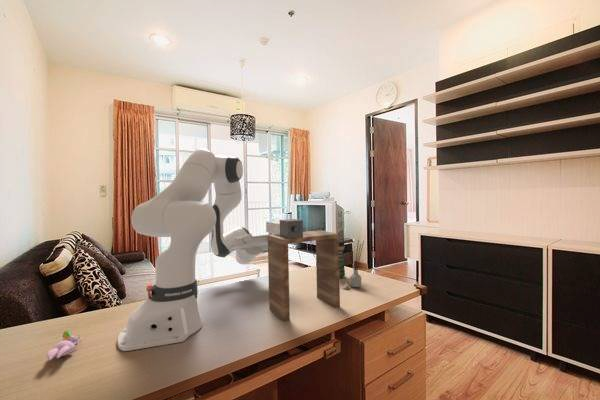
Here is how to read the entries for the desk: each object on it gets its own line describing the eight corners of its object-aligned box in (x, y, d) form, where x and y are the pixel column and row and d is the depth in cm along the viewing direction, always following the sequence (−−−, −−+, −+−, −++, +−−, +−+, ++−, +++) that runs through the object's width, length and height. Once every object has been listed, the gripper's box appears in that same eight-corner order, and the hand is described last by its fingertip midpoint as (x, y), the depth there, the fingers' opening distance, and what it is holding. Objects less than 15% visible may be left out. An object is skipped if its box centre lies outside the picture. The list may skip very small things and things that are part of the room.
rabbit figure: (59, 349, 79) (36, 370, 66) (59, 326, 80) (37, 342, 67) (86, 343, 82) (70, 362, 68) (86, 322, 83) (70, 336, 69)
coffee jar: (329, 280, 132) (329, 240, 132) (322, 275, 140) (321, 238, 139) (347, 277, 136) (347, 238, 136) (339, 273, 143) (338, 236, 143)
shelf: (284, 321, 91) (282, 239, 90) (269, 308, 101) (267, 235, 101) (339, 306, 101) (338, 233, 101) (321, 296, 112) (320, 230, 111)
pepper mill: (289, 239, 91) (289, 221, 90) (264, 232, 109) (264, 217, 109) (304, 237, 93) (304, 220, 93) (277, 230, 112) (277, 216, 112)
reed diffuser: (360, 283, 127) (359, 238, 126) (371, 288, 120) (370, 240, 120) (341, 287, 122) (340, 240, 121) (351, 292, 116) (350, 243, 115)
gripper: (228, 242, 126) (235, 230, 116) (270, 238, 136) (281, 226, 126) (230, 256, 124) (238, 244, 113) (273, 250, 134) (284, 239, 123)
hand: (261, 234), depth 120 cm, fingers open, 8 cm apart
